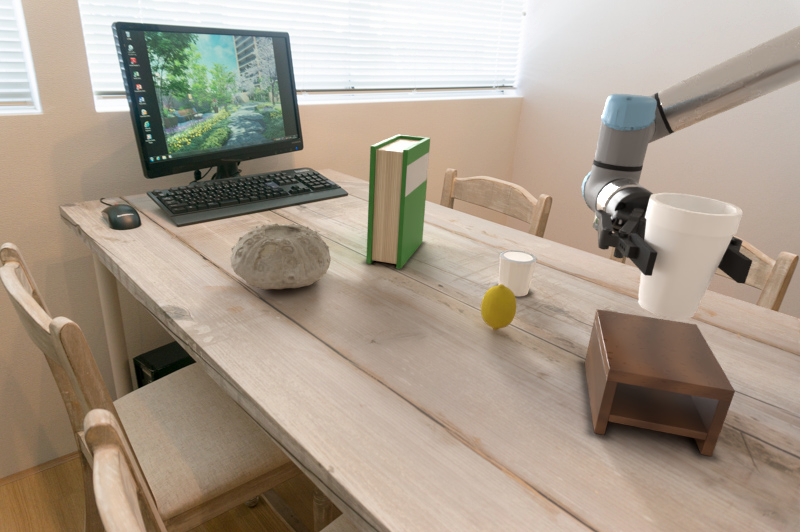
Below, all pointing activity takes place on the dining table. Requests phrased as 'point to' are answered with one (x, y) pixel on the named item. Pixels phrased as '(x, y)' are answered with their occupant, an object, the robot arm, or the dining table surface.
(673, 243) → the foam cup
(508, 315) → the lemon
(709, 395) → the shelf
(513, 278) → the white jar candle
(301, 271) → the decorative shell
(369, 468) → the dining table surface
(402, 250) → the hardback book
